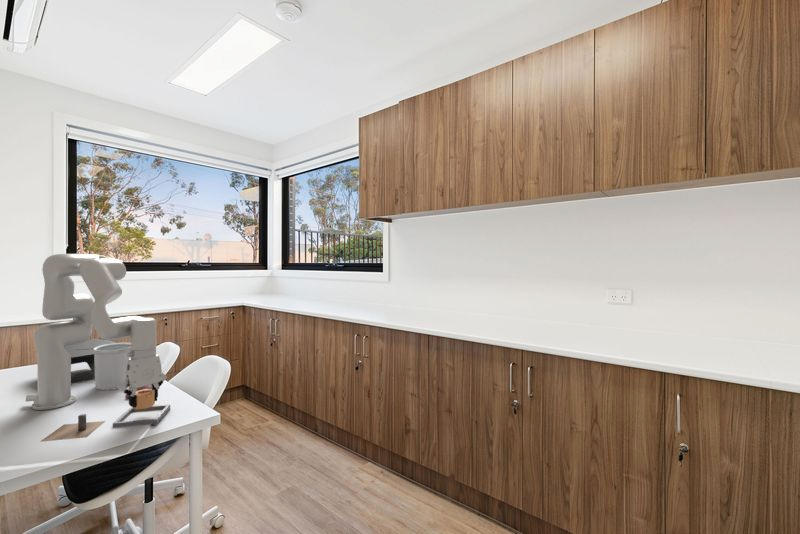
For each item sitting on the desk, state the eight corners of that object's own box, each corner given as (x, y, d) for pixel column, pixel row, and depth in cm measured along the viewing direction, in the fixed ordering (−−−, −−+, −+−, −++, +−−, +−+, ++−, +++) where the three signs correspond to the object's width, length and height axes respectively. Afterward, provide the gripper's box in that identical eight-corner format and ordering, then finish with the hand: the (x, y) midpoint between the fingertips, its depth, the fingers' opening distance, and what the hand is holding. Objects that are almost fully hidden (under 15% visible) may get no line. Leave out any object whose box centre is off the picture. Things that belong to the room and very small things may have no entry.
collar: (141, 411, 127) (141, 396, 127) (130, 407, 131) (130, 393, 131) (159, 405, 132) (159, 391, 132) (148, 401, 136) (148, 388, 136)
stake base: (40, 444, 113) (40, 425, 113) (63, 426, 125) (63, 410, 125) (86, 439, 116) (86, 421, 116) (105, 423, 128) (105, 407, 128)
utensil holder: (127, 389, 161) (127, 349, 161) (86, 392, 157) (86, 351, 157) (140, 378, 175) (140, 341, 175) (103, 381, 171) (103, 343, 171)
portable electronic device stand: (107, 364, 197) (107, 335, 197) (124, 373, 183) (124, 342, 183) (42, 376, 176) (42, 344, 176) (55, 387, 162) (55, 352, 162)
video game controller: (150, 402, 151) (157, 384, 154) (140, 401, 147) (148, 383, 150) (133, 399, 154) (140, 382, 157) (123, 398, 150) (130, 380, 153)
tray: (112, 429, 123) (112, 423, 123) (130, 412, 137) (130, 407, 137) (156, 425, 127) (156, 419, 127) (170, 409, 140) (170, 404, 140)
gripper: (121, 360, 122) (121, 414, 122) (174, 349, 137) (174, 397, 138) (110, 357, 126) (110, 409, 126) (163, 347, 141) (163, 394, 141)
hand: (143, 402), depth 132 cm, fingers closed on collar, 6 cm apart
